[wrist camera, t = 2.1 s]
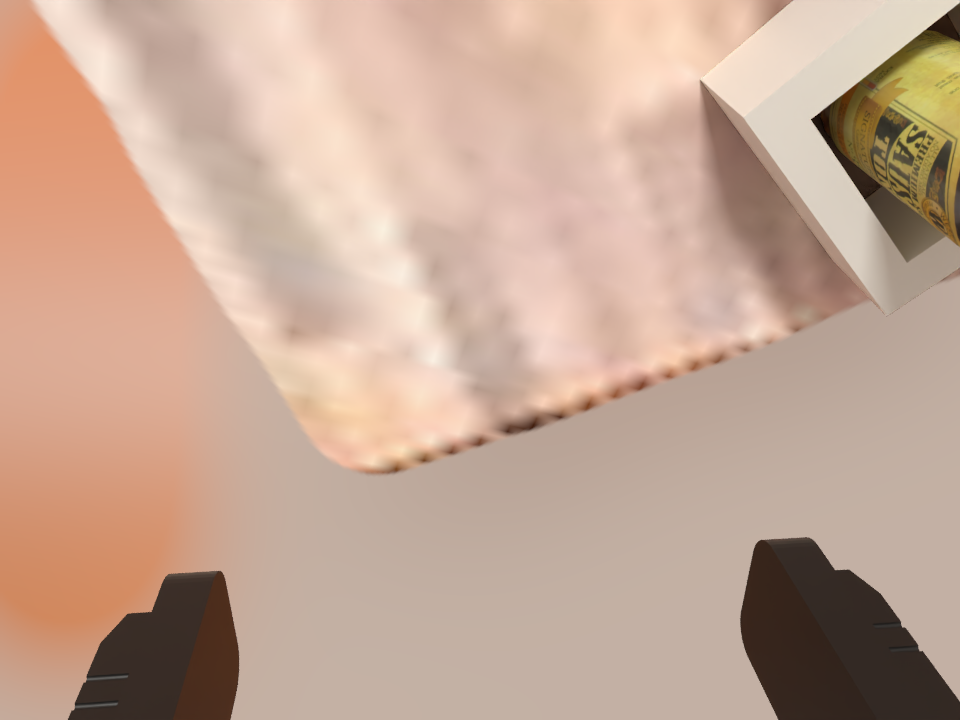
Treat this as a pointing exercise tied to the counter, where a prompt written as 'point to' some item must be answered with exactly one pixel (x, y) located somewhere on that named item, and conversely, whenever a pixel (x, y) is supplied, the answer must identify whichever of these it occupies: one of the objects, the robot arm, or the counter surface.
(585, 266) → the counter surface
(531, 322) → the counter surface
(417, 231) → the counter surface
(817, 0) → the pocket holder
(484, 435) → the counter surface
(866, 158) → the sauce bottle
